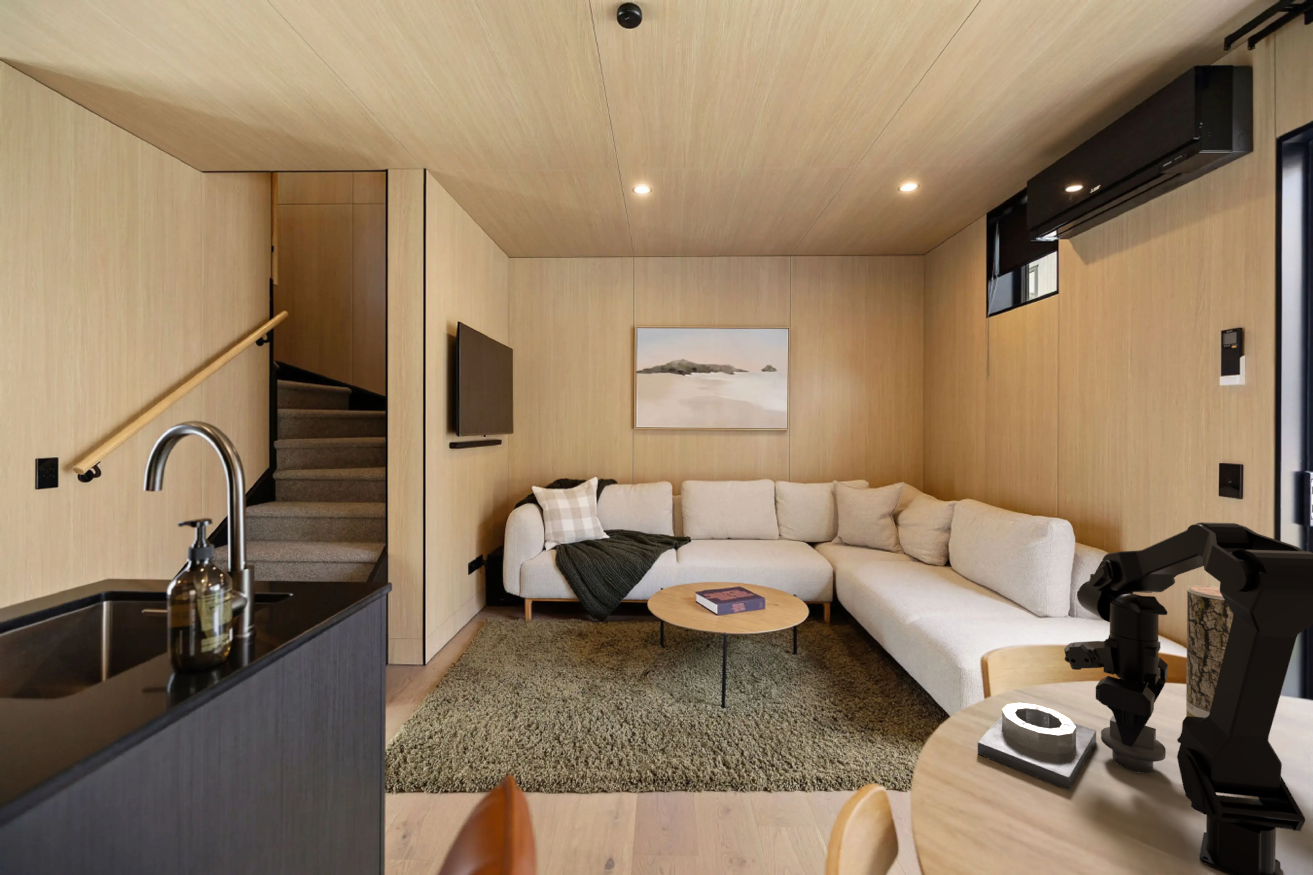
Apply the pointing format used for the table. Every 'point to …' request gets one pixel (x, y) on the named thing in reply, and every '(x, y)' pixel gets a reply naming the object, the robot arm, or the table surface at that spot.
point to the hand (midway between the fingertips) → (1132, 733)
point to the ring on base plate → (1038, 743)
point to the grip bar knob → (1134, 748)
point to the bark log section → (1205, 645)
